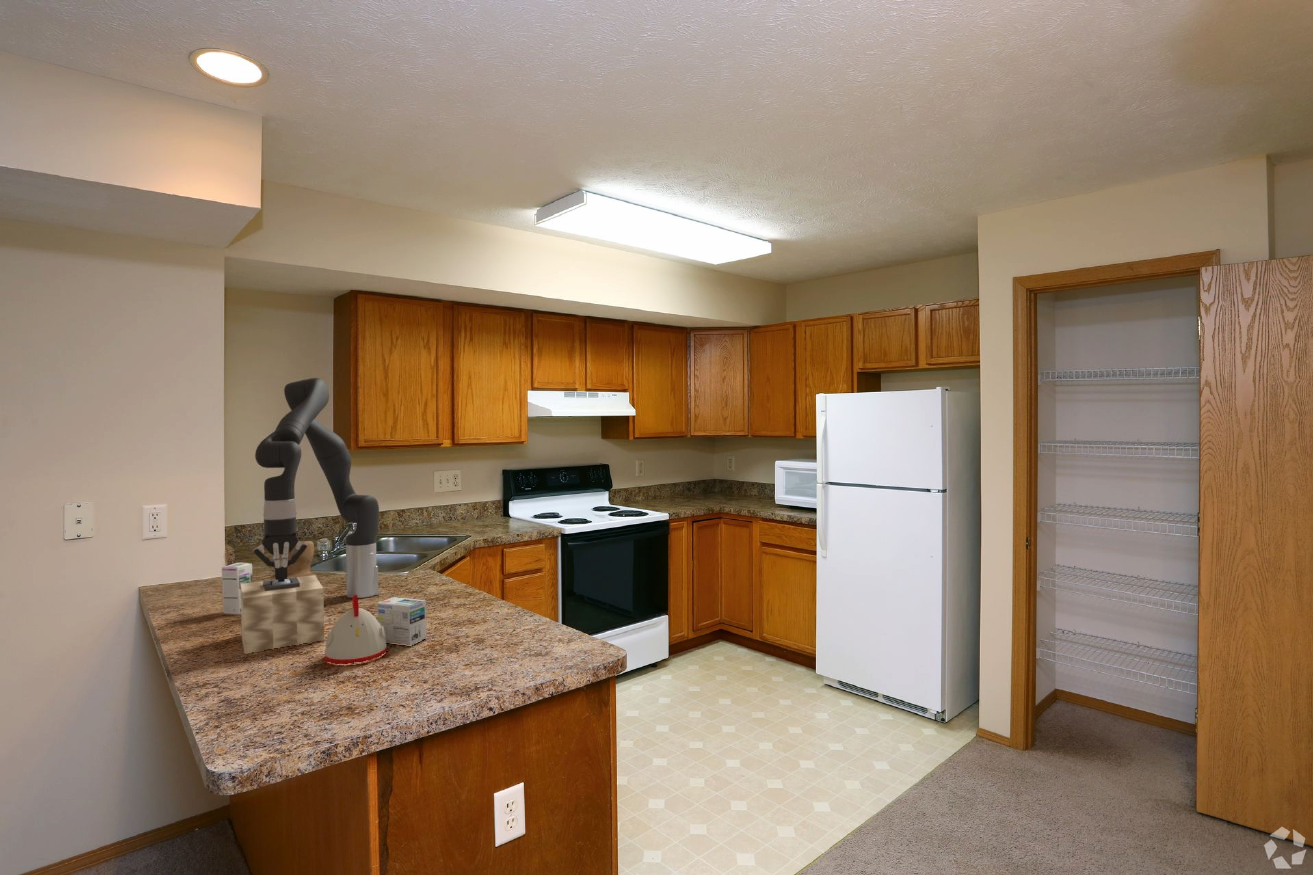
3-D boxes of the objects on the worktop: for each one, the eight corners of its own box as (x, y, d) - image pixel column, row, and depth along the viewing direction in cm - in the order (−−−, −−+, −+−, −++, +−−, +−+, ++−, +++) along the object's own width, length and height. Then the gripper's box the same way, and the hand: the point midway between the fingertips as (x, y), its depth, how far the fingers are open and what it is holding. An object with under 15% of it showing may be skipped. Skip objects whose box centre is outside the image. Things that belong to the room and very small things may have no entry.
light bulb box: (427, 639, 179) (427, 599, 179) (410, 647, 173) (409, 605, 173) (394, 635, 183) (393, 595, 182) (376, 643, 176) (375, 602, 176)
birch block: (315, 623, 193) (314, 575, 193) (324, 640, 178) (323, 587, 178) (241, 634, 184) (240, 583, 183) (244, 653, 169) (243, 598, 168)
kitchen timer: (325, 670, 158) (324, 606, 157) (324, 652, 170) (323, 592, 169) (389, 660, 164) (388, 598, 164) (383, 643, 176) (382, 586, 176)
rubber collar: (296, 580, 186) (296, 577, 186) (299, 586, 179) (299, 582, 179) (263, 584, 182) (263, 581, 182) (265, 591, 175) (265, 587, 175)
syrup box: (239, 614, 203) (238, 566, 202) (222, 613, 204) (221, 565, 204) (254, 609, 208) (253, 562, 208) (237, 608, 210) (236, 562, 209)
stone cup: (316, 576, 253) (315, 536, 253) (318, 582, 243) (317, 541, 243) (269, 581, 246) (268, 539, 245) (269, 588, 235) (269, 545, 235)
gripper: (306, 512, 187) (307, 575, 187) (250, 516, 180) (251, 581, 180) (309, 515, 181) (310, 580, 181) (251, 520, 173) (253, 587, 174)
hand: (281, 581), depth 181 cm, fingers closed
